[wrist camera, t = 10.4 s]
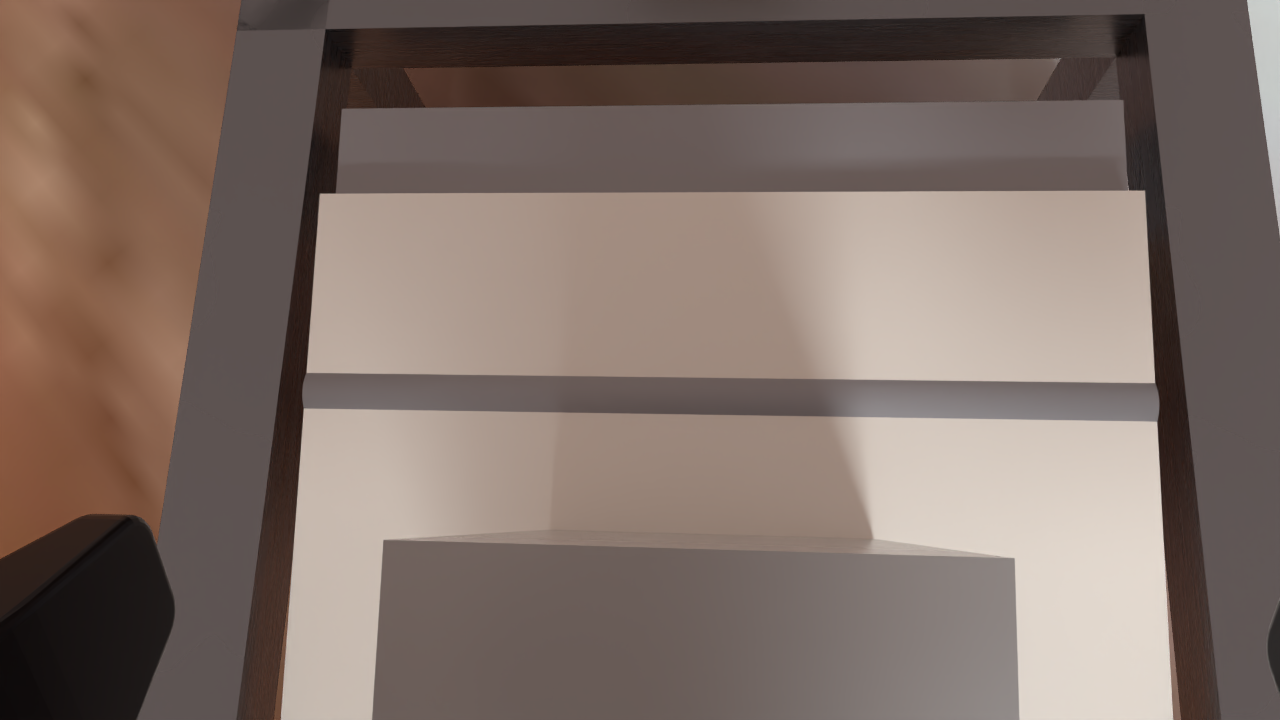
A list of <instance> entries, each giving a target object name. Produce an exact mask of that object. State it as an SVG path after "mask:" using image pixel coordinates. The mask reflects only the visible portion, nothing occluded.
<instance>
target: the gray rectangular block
mask: <svg viewBox="0 0 1280 720" xmlns="http://www.w3.org/2000/svg"><path fill="white" fill-rule="evenodd" d="M372 720H1019V688H1018V654H1017V619H1016V584H1015V558H1010V557H1002V556H995V555H988V554H980V553H973V552H966V551H959V550H951V549H944V548H937V547H929V546H922V545H915V544H907V543H900V542H893V541H885V540H878V539H858V538H822V537H786V536H750V535H714V534H679V533H643V532H607V531H571V530H539V531H522V532H505V533H488V534H472V535H455V536H438V537H421V538H405V539H388V540H383V554H382V570H381V585H380V601H379V617H378V633H377V649H376V664H375V680H374V696H373V712H372Z"/></svg>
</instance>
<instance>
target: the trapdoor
mask: <svg viewBox="0 0 1280 720" xmlns="http://www.w3.org/2000/svg"><path fill="white" fill-rule="evenodd" d="M302 400H303V407H304V414H303V428H302V441H301V454H300V468H299V481H298V495H297V508H296V522H295V535H294V548H293V562H292V575H291V589H290V602H289V616H288V629H287V643H286V656H285V669H284V683H283V696H282V710H281V720H372V712H373V696H374V680H375V664H376V649H377V633H378V617H379V601H380V585H381V570H382V554H383V540H388V539H405V538H421V537H438V536H455V535H472V534H488V533H505V532H522V531H539V530H571V531H607V532H643V533H679V534H714V535H750V536H786V537H822V538H858V539H878V540H885V541H893V542H900V543H907V544H915V545H922V546H929V547H937V548H944V549H951V550H959V551H966V552H973V553H980V554H988V555H995V556H1002V557H1010V558H1015V584H1016V619H1017V654H1018V688H1019V720H1173V710H1172V691H1171V672H1170V653H1169V635H1168V616H1167V597H1166V578H1165V559H1164V540H1163V521H1162V503H1161V484H1160V465H1159V446H1158V427H1157V421H1158V416H1159V395H1158V390H1157V387H1156V384H1155V371H1154V352H1153V333H1152V314H1151V295H1150V276H1149V257H1148V239H1147V220H1146V201H1145V191H1128V183H1127V163H1126V143H1125V123H1124V103H1123V100H1074V101H986V102H897V103H809V104H721V105H632V106H544V107H455V108H367V109H342V115H341V129H340V142H339V156H338V170H337V184H336V194H320V199H319V213H318V226H317V239H316V253H315V266H314V280H313V293H312V307H311V320H310V333H309V347H308V360H307V373H306V375H305V378H304V382H303V389H302Z"/></svg>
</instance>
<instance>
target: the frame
mask: <svg viewBox="0 0 1280 720" xmlns="http://www.w3.org/2000/svg"><path fill="white" fill-rule="evenodd" d="M1041 58H1061V60H1060V61H1059V63H1058V65H1057V67H1056V68H1055V70H1054V72H1053V74H1052V75H1051V77H1050V79H1049V81H1048V82H1047V84H1046V86H1045V88H1044V89H1043V91H1042V93H1041V95H1040V96H1039V98H1038V100H1037V101H1074V100H1123V103H1124V123H1125V143H1126V163H1127V177H1128V187H1129V191H1145V201H1146V220H1147V239H1148V257H1149V276H1150V295H1151V314H1152V333H1153V352H1154V371H1155V384H1156V387H1157V390H1158V395H1159V416H1158V421H1157V427H1158V446H1159V465H1160V484H1161V503H1162V521H1163V540H1164V550H1165V561H1166V571H1167V581H1168V591H1169V601H1170V611H1171V621H1172V631H1173V641H1174V651H1175V661H1176V672H1177V682H1178V692H1179V702H1180V712H1181V720H1280V696H1279V693H1278V691H1277V688H1276V685H1275V682H1274V679H1273V676H1272V673H1271V670H1270V667H1269V663H1268V657H1267V644H1266V643H1267V634H1268V630H1269V627H1270V624H1271V621H1272V618H1273V616H1274V613H1275V610H1276V607H1277V605H1278V602H1279V599H1280V236H1279V228H1278V221H1277V214H1276V207H1275V200H1274V193H1273V185H1272V178H1271V171H1270V164H1269V157H1268V149H1267V142H1266V135H1265V128H1264V121H1263V113H1262V106H1261V99H1260V92H1259V85H1258V77H1257V70H1256V63H1255V56H1254V49H1253V42H1252V34H1251V27H1250V20H1249V13H1248V6H1247V0H241V7H240V13H239V20H238V26H237V33H236V39H235V46H234V52H233V58H232V65H231V71H230V78H229V84H228V91H227V97H226V104H225V110H224V117H223V123H222V130H221V136H220V142H219V149H218V155H217V162H216V168H215V175H214V181H213V188H212V194H211V201H210V207H209V213H208V220H207V226H206V233H205V239H204V246H203V252H202V259H201V265H200V272H199V278H198V285H197V291H196V297H195V304H194V310H193V317H192V323H191V330H190V336H189V343H188V349H187V356H186V362H185V368H184V375H183V381H182V388H181V394H180V401H179V407H178V414H177V420H176V427H175V433H174V439H173V446H172V452H171V459H170V465H169V472H168V478H167V485H166V491H165V498H164V504H163V511H162V517H161V523H160V530H159V536H158V543H157V547H158V550H159V553H160V556H161V559H162V562H163V565H164V568H165V571H166V573H167V576H168V579H169V582H170V585H171V588H172V591H173V594H174V599H175V608H176V609H175V620H174V625H173V628H172V632H171V635H170V637H169V640H168V642H167V645H166V648H165V650H164V653H163V655H162V658H161V661H160V663H159V666H158V668H157V671H156V674H155V676H154V679H153V681H152V684H151V687H150V689H149V692H148V694H147V697H146V700H145V702H144V705H143V707H142V710H141V712H140V715H139V718H138V720H273V719H274V710H275V702H276V694H277V685H278V677H279V669H280V660H281V652H282V644H283V636H284V627H285V619H286V611H287V602H288V594H289V586H290V577H291V569H292V561H293V548H294V535H295V522H296V508H297V495H298V481H299V468H300V454H301V441H302V428H303V414H304V407H303V400H302V389H303V382H304V378H305V375H306V373H307V360H308V347H309V333H310V320H311V307H312V293H313V280H314V266H315V253H316V239H317V226H318V213H319V199H320V194H336V184H337V170H338V156H339V142H340V129H341V115H342V109H367V108H425V106H424V104H423V102H422V101H421V99H420V97H419V95H418V94H417V92H416V90H415V88H414V87H413V85H412V83H411V81H410V80H409V78H408V76H407V74H406V72H405V71H404V69H403V68H436V67H503V66H570V65H638V64H705V63H772V62H839V61H907V60H974V59H1041Z"/></svg>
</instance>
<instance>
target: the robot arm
mask: <svg viewBox="0 0 1280 720" xmlns="http://www.w3.org/2000/svg"><path fill="white" fill-rule="evenodd" d="M175 609H176V608H175V599H174V594H173V591H172V588H171V585H170V582H169V579H168V576H167V573H166V571H165V568H164V565H163V562H162V559H161V556H160V553H159V550H158V547H157V544H156V542H155V539H154V536H153V533H152V531H151V528H150V526H149V525H148V524H147V523H146V522H145V521H144V520H143V519H142V518H140V517H137V516H134V515H116V514H90V515H85V516H81V517H79V518H77V519H75V520H73V521H71V522H69V523H67V524H66V525H64V526H62V527H60V528H58V529H56V530H54V531H52V532H51V533H49V534H47V535H45V536H43V537H41V538H39V539H37V540H35V541H34V542H32V543H30V544H28V545H26V546H24V547H22V548H20V549H18V550H17V551H15V552H13V553H11V554H9V555H7V556H5V557H3V558H2V559H0V720H138V718H139V715H140V712H141V710H142V707H143V705H144V702H145V700H146V697H147V694H148V692H149V689H150V687H151V684H152V681H153V679H154V676H155V674H156V671H157V668H158V666H159V663H160V661H161V658H162V655H163V653H164V650H165V648H166V645H167V642H168V640H169V637H170V635H171V632H172V628H173V625H174V620H175ZM1266 644H1267V657H1268V663H1269V667H1270V670H1271V673H1272V676H1273V679H1274V682H1275V685H1276V688H1277V691H1278V693H1279V696H1280V599H1279V602H1278V605H1277V607H1276V610H1275V613H1274V616H1273V618H1272V621H1271V624H1270V627H1269V630H1268V634H1267V643H1266Z"/></svg>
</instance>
